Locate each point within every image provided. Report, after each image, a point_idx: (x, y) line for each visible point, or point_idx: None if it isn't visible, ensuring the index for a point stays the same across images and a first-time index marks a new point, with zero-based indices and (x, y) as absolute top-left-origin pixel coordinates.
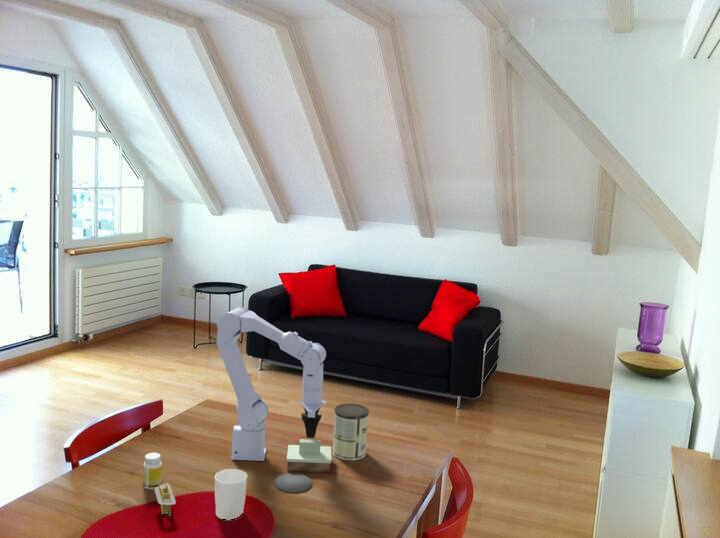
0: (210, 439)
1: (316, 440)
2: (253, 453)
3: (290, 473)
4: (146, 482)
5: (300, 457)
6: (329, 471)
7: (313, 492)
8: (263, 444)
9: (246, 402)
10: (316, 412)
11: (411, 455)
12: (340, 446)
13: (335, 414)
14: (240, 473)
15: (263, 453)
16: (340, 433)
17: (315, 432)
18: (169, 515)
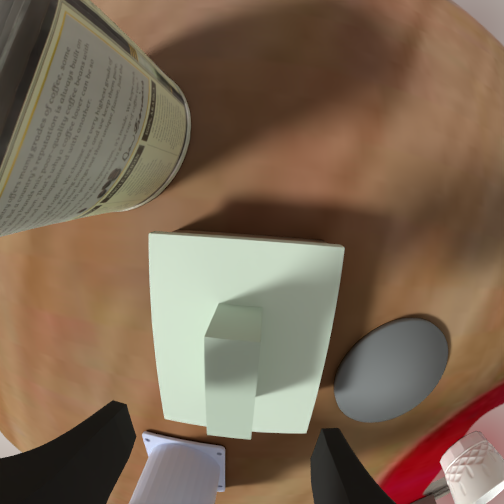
0: (127, 489)
1: (214, 361)
2: (217, 477)
3: (335, 391)
4: None
5: (295, 392)
6: (324, 241)
7: (456, 308)
8: (185, 474)
9: None
10: (60, 485)
11: None
12: (147, 176)
13: None
14: (478, 493)
15: (187, 449)
16: (99, 179)
17: (356, 458)
18: (429, 497)
